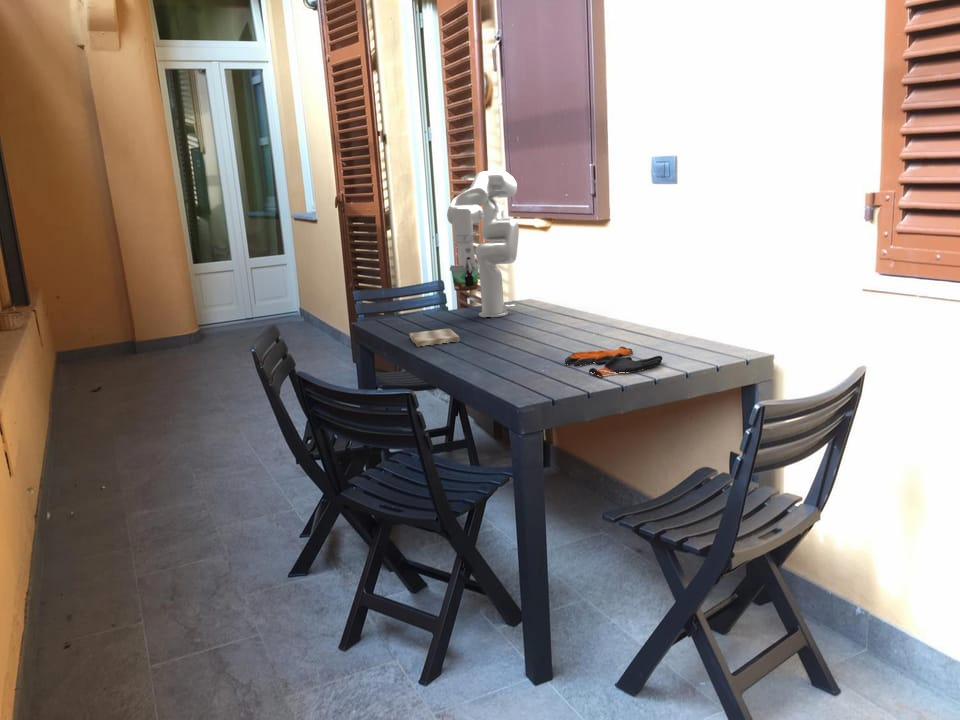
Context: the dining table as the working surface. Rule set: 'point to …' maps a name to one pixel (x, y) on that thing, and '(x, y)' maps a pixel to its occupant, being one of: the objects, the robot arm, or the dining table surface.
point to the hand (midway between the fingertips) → (467, 284)
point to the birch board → (434, 337)
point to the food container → (463, 277)
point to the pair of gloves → (612, 361)
